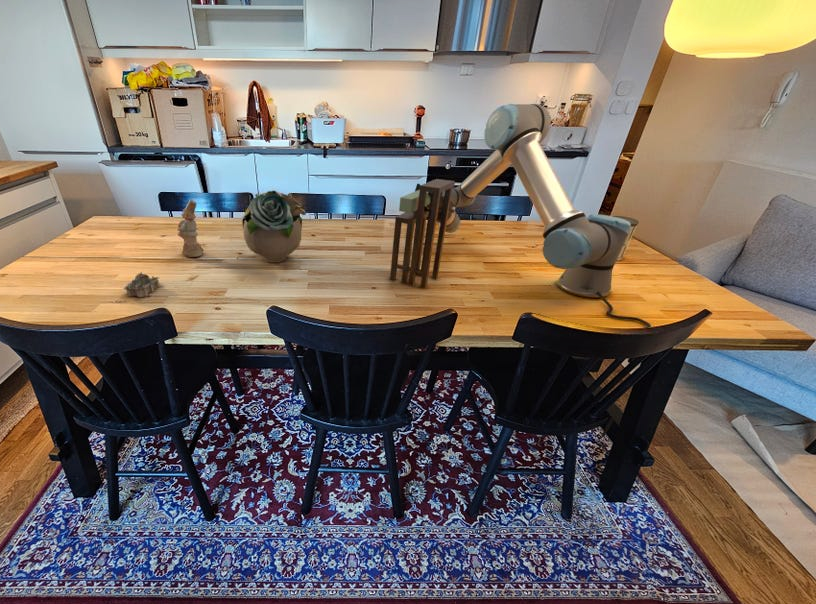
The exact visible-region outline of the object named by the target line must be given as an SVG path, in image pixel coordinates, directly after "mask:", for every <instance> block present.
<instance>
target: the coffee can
mask: <svg viewBox="0 0 816 604" xmlns="http://www.w3.org/2000/svg"><path fill="white" fill-rule="evenodd" d="M611 216H612V217H617V218H621V219H624V220H627V221H629V222H630V224H631V227H630V230H629V234H628V236H627V238H626V240H625V242H624V244H623V247H622V249H621V251H620V253H619V256H618V258H617V260H616V261H622V260H623V259H624V256H625V253H626V252H627V250H628V247H629V245H630V243H631V240H632V238H633V235H634V233H635V231H636V229H637V226H638V225H639V223H640V221H639V220H638V219H636V218H633V217H628V216H621V215H611Z"/></svg>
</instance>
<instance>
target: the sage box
mask: <svg viewBox="0 0 816 604" xmlns="http://www.w3.org/2000/svg"><path fill="white" fill-rule="evenodd" d="M419 192H420V190H417V191H415V190H414V191H413V192H411V193H408V194H405V195H403V196H400V197H399V198H400V199H399V206H398V207H399V208H398V212H402V213H405V212H407V213H412V212H414V211H416V210H417V209H418V200H419ZM428 193H429V192H427V193H426V200H425V207H426V205H428V204H430V199H431V197H430V196H429V194H428Z"/></svg>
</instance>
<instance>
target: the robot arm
mask: <svg viewBox="0 0 816 604" xmlns="http://www.w3.org/2000/svg"><path fill="white" fill-rule="evenodd" d="M551 123H552V119H551V115H550V112H549V110H548V109H547V108H546V107H545V106H544V105H541V104H538V103H530V104H529V103H526V104H525V103H524V104H523V103H522V104H521V103H519V104H517V103H516V104H514V103H508V104H504V105H503V104H502V105H500V106H498V107H497V108H496V109H494V110H493V112H491V114H490V115H489V117H488V119H487V121H486V124H485V129H484V133H483V135H484V141H485V144H486V146H487V147H488V148H489V149H492V150H494V152H492V153H491V155H489V156H488V157H487V158H486V159H485V160H484V161H483V162H482V163H481V164H480V165H479V166H478V167H477V168H476V169H475V170H474V171H473V172H471V174H469V175H468V176H467V178H465V179H464V180H463V181H462V182H461V183H460V184H459V185H458V186H457V187H453V188H452V194H451V200H450V206H449V212H448V219H447V225H446V231H445V234H446V233H447V234H453V233H455V232H456V231H458V230H459V228H460V226H461V219H460V216H459V215H458V214H457V212H456V208H460V207H463V208H464V207H467V206H470V205H472V204H474V203H475V200H476V199H477V196H478V194H479V193H481V192H482V191H483V190H484V189H485V188H486V187H487V186H489V185H490V184H492V182H493V181H494V180H496V179H497V178H498V177H499V176H500V175H501V174H502V173H504V172H505V171H506V170H507V169H508V168H509V167H511V165H512V166H513V168H514V171H515V172H516V174H517V176H518V178H519V180H520V182H521V184H522V186H523V187H524V189H525V192H526V194H527V195H528V198H529V200H530V201H531V203H532V204H533V207H534V209H535V211H536V213H537V214H538V217H539V219H540V221H541V223H542V224H543V226H544V229H543V232H542V237H543V239H544V240H543V243H542V245H543V246H542V255H543V257H544V259H545V260H546V262H547V263H548V264H549V265H550V266H552V267H553V268H556V269H560V270H564V271H563V273H562V274H561V275H560V276H559V278H558V280H557V286H558V288H560V290H562V291H563V292H566V293H568V294H571V295H574V296H577V297H581V298H585V299H586V298H587V299H600V300H601V301H603V303H604V304H605V305H606V306H607V307H608V308H609V309H608V310H607V311H606V315H607V316H609V317H611V318H615V319H617V320H631V321H636V322H639V323H642V324H643V325H645V326H646V328H647V327H651V328H652V326H651V324H650V322H648V321H646V320H644V319H642V318H639V317H635V316H624V315H617V314H613V313H612V312H613V311H614V308H613V305H612V304H611V303H610V302H609V301H608V300H607V299H606V297H608V296H610V293H611V290H612V282H613V281H612V280H613V269H614V267H615V264H616V263H617V261H618V260H617V258H618V256H619V253H620V251H621V249H622V247H623V244H624V242H625V240H626V238H627V236H628V234H629V230H630V227H631V224H630V222H629V221H627V220H624V219H621V218H617V217H612V216H613V215H606V214H598V213H591V214H589V215H588V216H586V213H585V212H584V211H580V210H576V209H575V207H574V205H573V203H572V201H571V200H570V197H569V195H568V194H567V192H566V190H565V188H564V186H563V185H562V183H561V181H560V179H559V177H558V175H557V173H556V172H555V170H554V167H553V166H552V164H551V162H550V160H549V159H548V157H547V155H546V153H545V150H544V149H543V147H542V145H541V143H542V142H543V141H544V140H545V138H546V137H547V135H548V134H549V132H550V128H551ZM420 185H421V183H418V182H417V183H416V186H415V188H414V192H415V191H417V190H420ZM428 194H429V196H430V197H431V192H429V193H428ZM444 196H445V191H443V192H441V195H440V202H439V209H438V215H437V222H436V225H438V226H439V227H440V222H441V215H442V209H443V203H444ZM429 206H430V204H428V205H426V206H425V208H426V209H427V210H429ZM615 419H616V416H614V417H611V418H610V419H609V421H608V422H607V424H606V426H605V428H604V429H603V432H602V433H601V436H600V437H601V438H605V436H606V434H607V432H608V431H609V429H610V427H611V425H612V424H613V422H614V420H615Z"/></svg>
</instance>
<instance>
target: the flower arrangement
mask: <svg viewBox="0 0 816 604" xmlns="http://www.w3.org/2000/svg"><path fill="white" fill-rule="evenodd" d="M254 196H255V197H252V198H251V201H250V202H249V205H248V207H247V208H246V209H245V210H244V211H245V213H244V214H243V215H242V216H241V218H242V219H241V221H242V229H243V230H242V233H243V239H244V240H243V241H244V242H245V244H246V246H247V248H248V249H249V250H250V251H251V252H253V253H254V254H256V255H257V256H260V257H262V258H263V259H264V261H265V262H268V263H281V262H284V261H285V260H286V259H287V257H288V255H291V254H292V253H294V252H295V251H296V250H297V249H298V248H299V247H300V244H301V241H302V229H303V228H302V227H303V218H302V217H301V216H306V215H307V213H306V211H305V209H304V208H305V207H304V205H302V204H301V203H300V202H298V200H297V199H295V198H294V196H293V194H292V193H291V192H289V193H287V194H286V193H283V192H280V191H277V190H274V189H272V190H268V191H266V192H262V193H260V194H259V193H258V192H256V194H254ZM300 215H301V216H300Z"/></svg>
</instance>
